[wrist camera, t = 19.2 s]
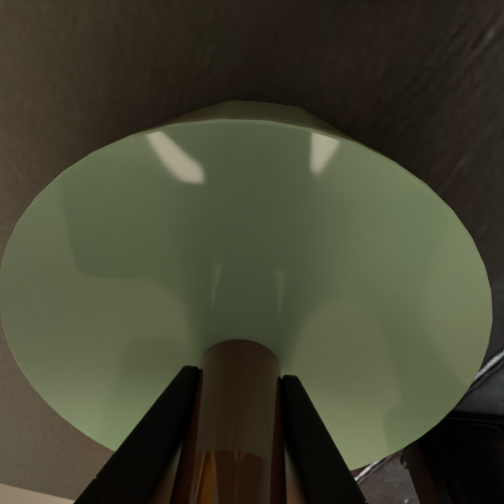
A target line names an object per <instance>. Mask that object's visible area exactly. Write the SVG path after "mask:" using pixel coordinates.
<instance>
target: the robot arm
mask: <svg viewBox="0 0 504 504" xmlns="http://www.w3.org/2000/svg"><path fill="white" fill-rule="evenodd" d="M198 371H199V368H198V367H197V366H190V365H185V366H183V367H182V368H181V370H180V371H179V372H178V373H177V375H176V376H175V377H174V378H173V380H172V381H171V382H170V383H169V385H168V386H167V387H166V389H165V390H164V391H163V392H162V394H161V395H160V396H159V397H158V399H157V400H156V401H155V402H154V404H153V405H152V406H151V407H150V409H149V410H148V411H147V412H146V414H145V415H144V416H143V417H142V419H141V420H140V421H139V422H138V424H137V425H136V426H135V427H134V429H133V430H132V431H131V432H130V434H129V435H128V436H127V437H126V439H125V440H124V441H123V443H122V444H121V445H120V446H119V448H118V449H117V450H116V451H115V453H114V454H113V455H112V456H111V458H110V459H109V460H108V461H107V463H106V464H105V465H104V466H103V468H102V469H101V470H100V471H99V473H98V474H97V475H96V479H97V480H96V479H95V478H94V479H93V480H92V481H91V482H90V484H89V485H88V486H87V488H86V489H85V490H84V491H83V493H82V494H81V495H80V496H79V497H78V499H77V500H76V501H75V502H74V503H73V504H169V501H170V497H171V492H172V488H173V483H174V478H175V474H176V469H177V465H178V460H179V456H180V451H181V447H182V442H183V438H184V433H185V429H186V425H187V421H188V416H189V412H190V408H191V403H192V399H193V394H194V389H195V385H196V380H197V376H198ZM282 397H283V419H284V439H285V460H286V481H287V502H288V504H368V503H367V502H366V499H365V497H364V495H363V493H362V491H361V490H360V488H359V486H358V484H357V482H356V481H355V479H354V477H353V475H352V473H351V472H350V470H349V468H348V466H347V464H346V463H345V461H344V459H343V457H342V455H341V453H340V452H339V450H338V448H337V446H336V444H335V443H334V441H333V439H332V437H331V435H330V434H329V432H328V430H327V428H326V426H325V425H324V423H323V421H322V419H321V417H320V415H319V414H318V412H317V410H316V408H315V406H314V405H313V403H312V401H311V399H310V397H309V396H308V394H307V392H306V390H305V388H304V387H303V385H302V383H301V381H300V379H299V378H298V377H297V376H296V375H287V374H285V375H283V377H282ZM400 462H401V465H402V468H403V469H405V470H409V473H410V476H411V478H412V481H413V484H414V487H415V490H416V493H417V496H418V499H419V501H420V504H504V417H494V416H483V415H472V414H461V413H450V412H449V413H448V414H447V415H446V416H445V417H444V418H443V419H442V420H441V421H440V422H439V423H438V424H437V425H435V426H434V427H433V428H432V429H430V430H429V431H428V432H427V433H425V434H424V435H423V436H422V437H420V438H418V439H417V440H415V441H414V442H412V443H411V444H410V445H409V446H408V448H407V450H406V451H405V453H404V455H403V456H402V458H401V460H400ZM365 502H366V503H365Z"/></svg>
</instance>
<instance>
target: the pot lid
mask: <svg viewBox="0 0 504 504" xmlns="http://www.w3.org/2000/svg"><path fill="white" fill-rule="evenodd" d="M0 317H1V324H2V327H3V330H4V333H5V336H6V340H7V343H8V346H9V348H10V350H11V352H12V354H13V356H14V358H15V360H16V362H17V364H18V366H19V368H20V369H21V371H22V372H23V374H24V375H25V377H26V378H27V380H28V381H29V382H30V384H31V385H32V387H33V388H34V389H35V390H36V391H37V392H38V394H39V395H40V396H41V397H42V398H43V399H44V400H45V402H46V403H47V404H48V405H49V406H51V407H52V408H53V409H54V410H55V411H56V412H57V413H58V414H59V415H60V416H61V417H62V418H63V419H65V420H66V421H67V422H69V423H70V424H71V425H73V426H74V427H75V428H77V429H78V430H79V431H81V432H82V433H84V434H85V435H87V436H88V437H90V438H92V439H93V440H95V441H96V442H98V443H100V444H101V445H103V446H105V447H107V448H109V449H111V450H113V451H116V450H117V449H118V448H119V446H120V445H121V444H122V443H123V441H124V440H125V439H126V437H127V436H128V435H129V434H130V432H131V431H132V430H133V429H134V427H135V426H136V425H137V424H138V422H139V421H140V420H141V419H142V417H143V416H144V415H145V414H146V412H147V411H148V410H149V409H150V407H151V406H152V405H153V404H154V402H155V401H156V400H157V399H158V397H159V396H160V395H161V394H162V392H163V391H164V390H165V389H166V387H167V386H168V385H169V383H170V382H171V381H172V380H173V378H174V377H175V376H176V375H177V373H178V372H179V371H180V370H181V368H182V367H183V366H185V365H190V366H197V367H198V368H199V371H198V376H197V380H196V385H195V389H194V394H193V399H192V403H191V408H190V412H189V416H188V421H187V425H186V429H185V433H184V438H183V442H182V447H181V451H180V456H179V460H178V465H177V469H176V474H175V478H174V483H173V488H172V492H171V497H170V501H169V504H288V502H287V481H286V460H285V439H284V419H283V397H282V377H283V375H285V374H287V375H296V376H297V377H298V378H299V379H300V381H301V383H302V385H303V387H304V388H305V390H306V392H307V394H308V396H309V397H310V399H311V401H312V403H313V405H314V406H315V408H316V410H317V412H318V414H319V415H320V417H321V419H322V421H323V423H324V425H325V426H326V428H327V430H328V432H329V434H330V435H331V437H332V439H333V441H334V443H335V444H336V446H337V448H338V450H339V452H340V453H341V455H342V457H343V459H344V461H345V463H346V464H347V466H348V468H349V470H350V471H351V470H354V469H357V468H361V467H363V466H366V465H368V464H371V463H373V462H376V461H378V460H381V459H383V458H385V457H387V456H389V455H391V454H393V453H395V452H397V451H399V450H401V449H403V448H404V447H406V446H407V445H409V444H411V443H412V442H414V441H415V440H417V439H418V438H420V437H422V436H423V435H424V434H425V433H427V432H428V431H429V430H430V429H432V428H433V427H434V426H435V425H437V424H438V423H439V422H440V421H441V420H442V419H443V418H444V417H445V416H446V415H447V414H448V413H449V412H450V411H451V410H452V409H453V408H454V407H455V406H456V405H457V403H458V402H459V401H460V399H461V398H462V397H463V396H464V394H465V393H466V392H467V390H468V389H469V387H470V386H471V384H472V382H473V380H474V378H475V377H476V375H477V373H478V371H479V369H480V367H481V365H482V362H483V359H484V356H485V353H486V350H487V348H488V345H489V338H490V332H491V326H492V294H491V289H490V285H489V281H488V277H487V272H486V268H485V265H484V262H483V260H482V258H481V256H480V254H479V251H478V249H477V247H476V245H475V242H474V240H473V238H472V236H471V235H470V234H469V232H468V231H467V229H466V228H465V226H464V225H463V224H462V222H461V221H460V219H459V218H458V217H457V215H456V214H455V212H454V211H453V210H452V209H451V208H450V207H449V206H448V205H447V204H446V203H445V202H444V201H443V200H442V199H441V198H440V197H439V196H438V195H437V194H436V193H435V192H434V191H433V190H432V189H431V188H430V187H429V186H428V185H427V184H426V183H425V182H423V181H422V180H421V179H419V178H418V177H417V176H415V175H414V174H412V173H411V172H409V171H408V170H407V169H405V168H404V167H402V166H401V165H400V164H398V163H397V162H395V161H394V160H393V159H391V158H390V157H388V156H386V155H384V154H382V153H380V152H378V151H376V150H374V149H372V148H370V147H368V146H366V145H364V144H362V143H360V142H358V141H356V140H354V139H352V138H349V137H346V136H343V135H340V134H337V133H334V132H331V131H328V130H325V129H322V128H318V127H315V126H312V125H308V124H303V123H297V122H291V121H285V120H279V119H274V118H268V117H242V116H216V117H207V118H198V119H189V120H180V121H175V122H172V123H168V124H164V125H160V126H156V127H152V128H149V129H145V130H141V131H138V132H135V133H133V134H131V135H128V136H126V137H124V138H121V139H119V140H117V141H114V142H112V143H110V144H108V145H105V146H103V147H101V148H99V149H97V150H95V151H93V152H92V153H90V154H89V155H87V156H86V157H84V158H82V159H81V160H79V161H78V162H76V163H75V164H73V165H72V166H70V167H69V168H67V169H65V170H64V171H62V172H61V173H60V174H59V175H58V176H57V177H56V178H55V179H54V180H53V181H52V182H50V183H49V184H48V185H47V186H46V187H45V188H44V189H43V190H42V191H41V192H40V193H39V194H37V196H36V197H35V198H34V200H33V201H32V202H31V204H30V205H29V207H28V208H27V209H26V211H25V212H24V213H23V215H22V216H21V217H20V219H19V220H18V222H17V224H16V226H15V228H14V231H13V233H12V235H11V237H10V239H9V241H8V243H7V245H6V248H5V252H4V256H3V260H2V264H1V268H0Z"/></svg>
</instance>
